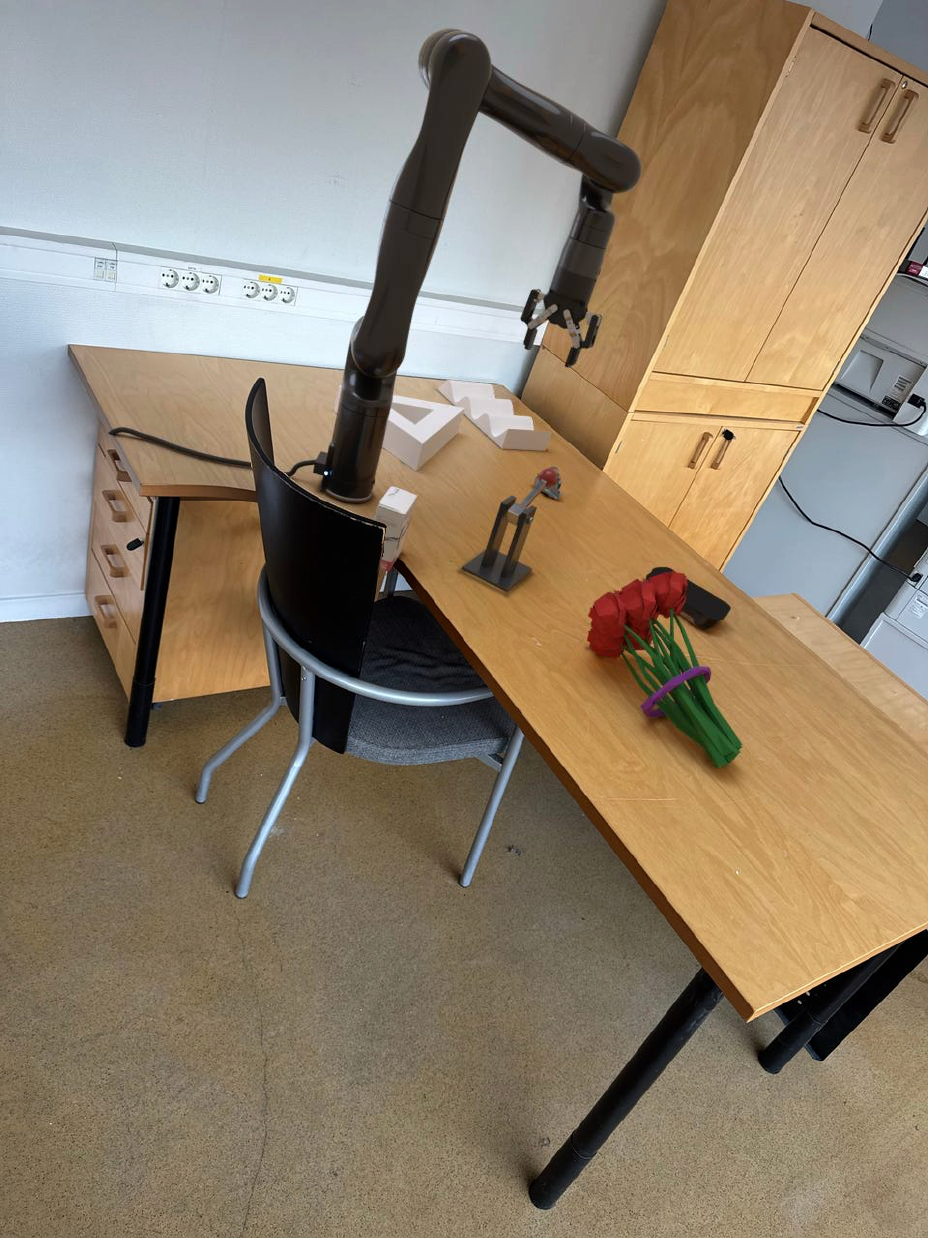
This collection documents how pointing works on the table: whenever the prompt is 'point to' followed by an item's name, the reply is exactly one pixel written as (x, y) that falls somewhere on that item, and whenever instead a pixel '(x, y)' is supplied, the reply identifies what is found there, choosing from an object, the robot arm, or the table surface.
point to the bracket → (496, 564)
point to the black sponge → (698, 603)
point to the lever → (532, 495)
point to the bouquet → (663, 659)
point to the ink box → (394, 522)
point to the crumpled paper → (553, 490)
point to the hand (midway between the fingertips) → (547, 357)
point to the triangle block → (417, 428)
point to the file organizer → (495, 416)
